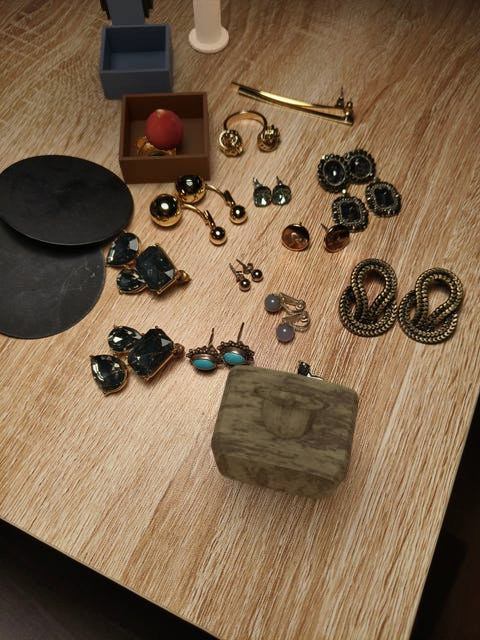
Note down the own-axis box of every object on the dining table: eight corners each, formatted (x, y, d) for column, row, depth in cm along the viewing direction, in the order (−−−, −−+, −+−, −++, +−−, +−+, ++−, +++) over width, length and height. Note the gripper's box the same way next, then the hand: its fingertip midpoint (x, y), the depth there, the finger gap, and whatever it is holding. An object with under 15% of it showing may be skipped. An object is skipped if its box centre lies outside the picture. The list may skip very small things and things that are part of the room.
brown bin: (124, 184, 92) (118, 160, 87) (128, 120, 98) (122, 94, 93) (210, 181, 92) (208, 156, 87) (208, 117, 98) (206, 91, 93)
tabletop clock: (341, 437, 74) (383, 361, 52) (330, 510, 71) (369, 463, 48) (229, 412, 76) (222, 328, 53) (211, 482, 72) (196, 424, 50)
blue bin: (105, 99, 100) (98, 73, 95) (109, 53, 105) (102, 25, 100) (172, 97, 100) (168, 70, 95) (172, 50, 105) (169, 23, 100)
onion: (169, 128, 96) (163, 89, 89) (193, 148, 94) (188, 109, 87) (141, 146, 95) (133, 108, 88) (164, 167, 93) (158, 130, 86)
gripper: (170, -136, 77) (184, -6, 94) (39, -131, 77) (75, -1, 94) (170, -101, 74) (184, 27, 90) (32, -96, 74) (71, 32, 90)
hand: (128, 12), depth 92 cm, fingers closed on blue block, 5 cm apart
